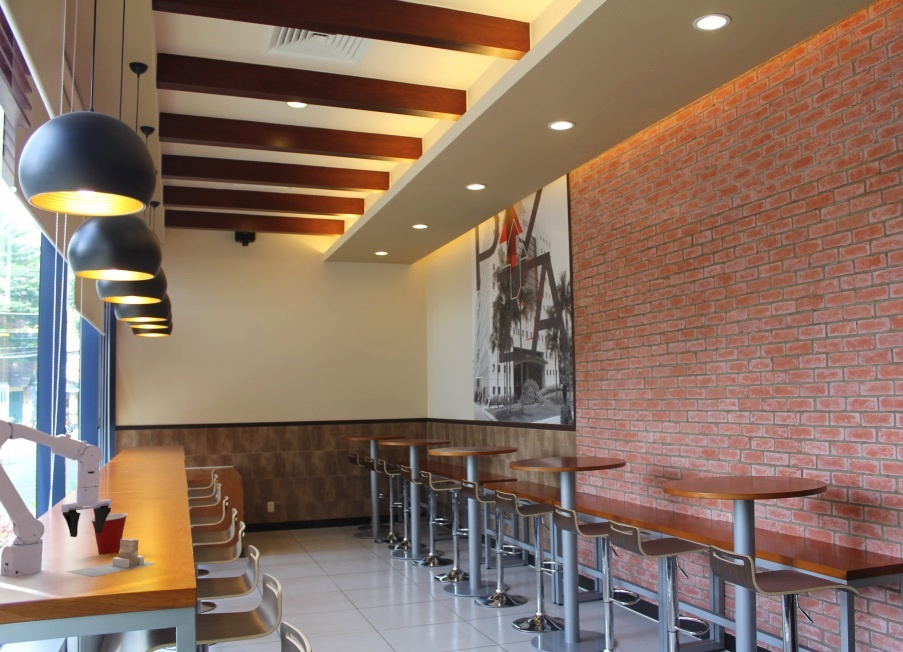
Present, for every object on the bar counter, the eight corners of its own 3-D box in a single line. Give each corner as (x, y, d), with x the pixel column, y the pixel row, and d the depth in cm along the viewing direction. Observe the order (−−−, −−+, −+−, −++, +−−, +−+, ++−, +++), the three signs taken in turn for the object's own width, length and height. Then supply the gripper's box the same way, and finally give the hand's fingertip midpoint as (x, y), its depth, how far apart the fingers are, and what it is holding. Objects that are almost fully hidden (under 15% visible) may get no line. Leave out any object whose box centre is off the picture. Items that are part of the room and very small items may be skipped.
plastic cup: (91, 552, 249) (92, 513, 250) (128, 550, 252) (129, 511, 253) (86, 559, 238) (87, 518, 239) (124, 556, 241) (125, 516, 242)
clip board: (92, 580, 209) (92, 569, 210) (66, 575, 216) (66, 564, 216) (156, 567, 226) (156, 556, 226) (130, 562, 233) (130, 552, 233)
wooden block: (130, 566, 223) (131, 540, 224) (119, 564, 226) (120, 539, 226) (137, 564, 225) (138, 539, 226) (126, 562, 228) (127, 538, 228)
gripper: (72, 489, 219) (70, 539, 217) (119, 485, 231) (117, 532, 230) (57, 488, 222) (55, 537, 221) (104, 483, 235) (102, 530, 233)
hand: (86, 534), depth 226 cm, fingers open, 7 cm apart
